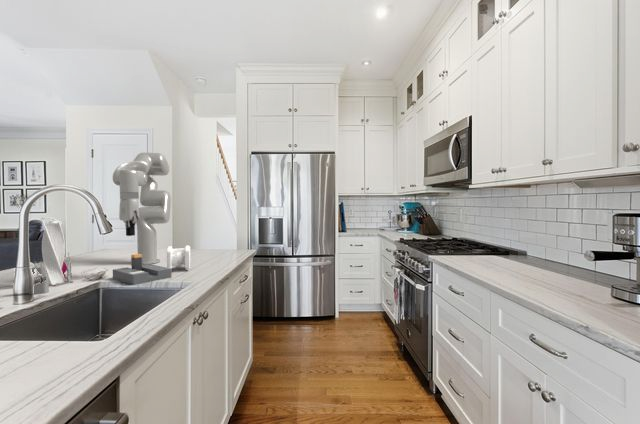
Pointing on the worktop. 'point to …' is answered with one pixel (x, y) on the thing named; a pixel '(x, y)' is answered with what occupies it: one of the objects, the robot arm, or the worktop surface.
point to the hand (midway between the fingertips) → (130, 235)
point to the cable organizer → (178, 257)
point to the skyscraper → (55, 253)
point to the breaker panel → (141, 274)
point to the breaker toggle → (136, 261)
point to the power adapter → (43, 286)
